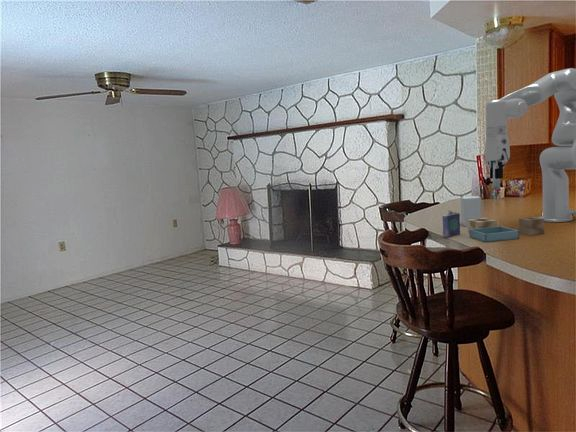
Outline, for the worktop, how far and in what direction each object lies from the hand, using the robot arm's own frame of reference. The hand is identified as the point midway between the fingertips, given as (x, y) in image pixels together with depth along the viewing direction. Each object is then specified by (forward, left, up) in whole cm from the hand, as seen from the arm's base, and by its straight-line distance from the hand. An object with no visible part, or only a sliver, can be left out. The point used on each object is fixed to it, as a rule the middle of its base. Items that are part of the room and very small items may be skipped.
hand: (496, 178), depth 168 cm
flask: (+19, -1, -22) cm, 29 cm away
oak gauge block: (+6, -2, -22) cm, 23 cm away
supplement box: (+1, -19, -22) cm, 29 cm away
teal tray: (+8, +10, -22) cm, 25 cm away
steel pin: (0, 0, -5) cm, 5 cm away
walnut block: (-7, +10, -22) cm, 25 cm away
